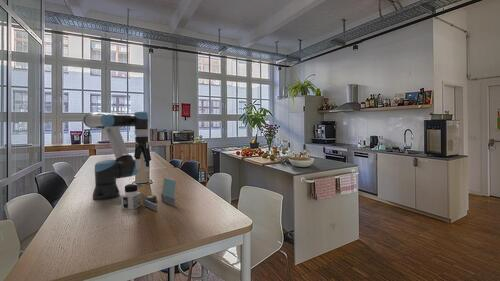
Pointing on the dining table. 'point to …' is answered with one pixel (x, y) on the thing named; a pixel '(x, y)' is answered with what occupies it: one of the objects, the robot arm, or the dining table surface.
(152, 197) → the dark grey rounded disc
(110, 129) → the robot arm
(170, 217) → the dining table surface
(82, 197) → the dining table surface
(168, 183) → the lid
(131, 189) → the container
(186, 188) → the dining table surface
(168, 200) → the dark grey shallow box
